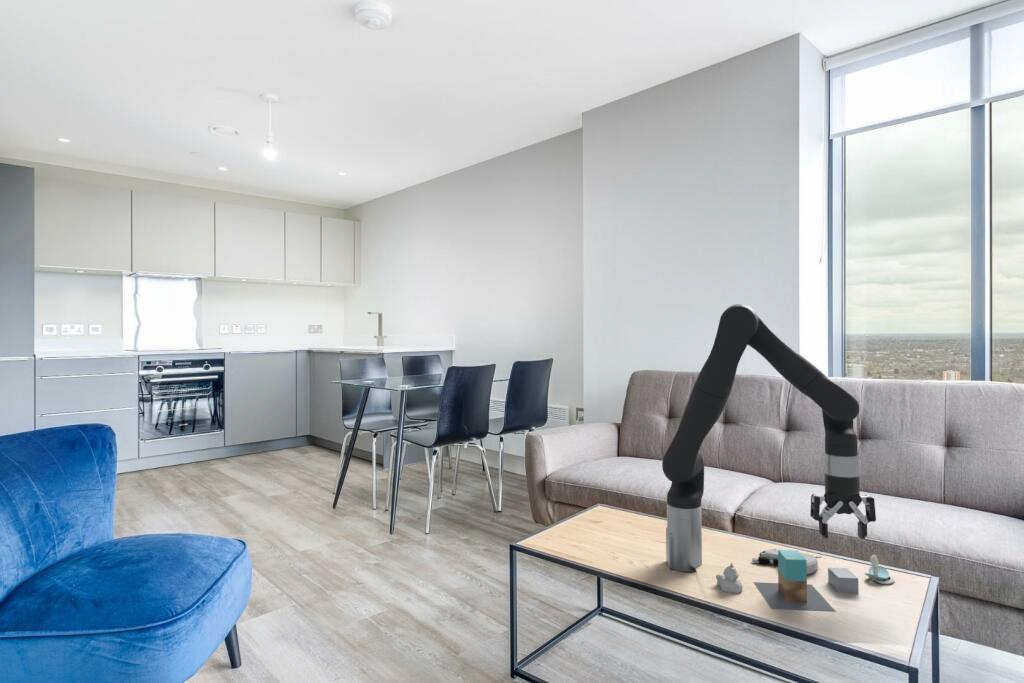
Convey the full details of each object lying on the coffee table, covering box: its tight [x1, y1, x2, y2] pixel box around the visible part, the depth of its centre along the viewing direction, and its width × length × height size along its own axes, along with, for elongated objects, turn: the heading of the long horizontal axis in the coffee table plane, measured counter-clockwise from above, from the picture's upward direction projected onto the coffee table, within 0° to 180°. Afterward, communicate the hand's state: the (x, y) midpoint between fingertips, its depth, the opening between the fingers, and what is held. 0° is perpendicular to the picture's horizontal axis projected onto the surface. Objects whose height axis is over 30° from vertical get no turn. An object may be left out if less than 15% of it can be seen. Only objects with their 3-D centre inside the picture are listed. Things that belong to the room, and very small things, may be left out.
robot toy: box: [751, 548, 823, 575], centre depth 154 cm, size 12×4×15 cm
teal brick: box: [777, 549, 808, 582], centre depth 136 cm, size 4×6×5 cm
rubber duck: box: [715, 562, 743, 594], centre depth 140 cm, size 5×7×8 cm
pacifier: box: [864, 554, 895, 585], centre depth 147 cm, size 7×6×6 cm
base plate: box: [753, 581, 837, 613], centre depth 136 cm, size 14×14×1 cm
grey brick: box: [827, 567, 860, 595], centre depth 140 cm, size 4×6×5 cm
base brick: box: [777, 569, 808, 602], centre depth 136 cm, size 4×6×5 cm
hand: (843, 537), depth 139 cm, fingers open, 8 cm apart
